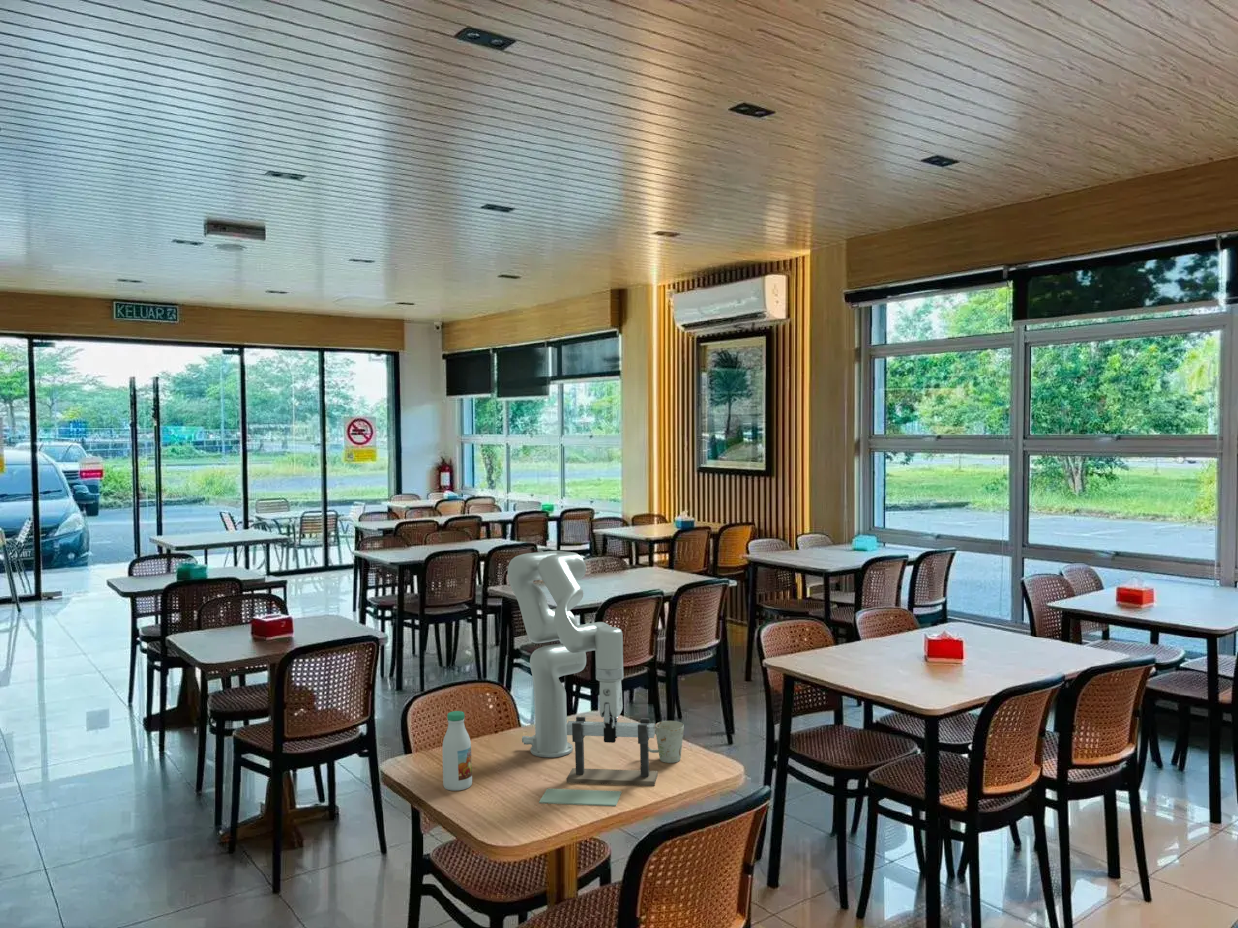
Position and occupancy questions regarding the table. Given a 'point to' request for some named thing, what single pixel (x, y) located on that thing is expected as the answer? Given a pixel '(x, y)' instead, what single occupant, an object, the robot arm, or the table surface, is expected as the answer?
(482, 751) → the table surface
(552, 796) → the mat
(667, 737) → the mug
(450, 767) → the milk bottle
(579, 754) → the hook stand
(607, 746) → the table surface
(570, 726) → the rail
